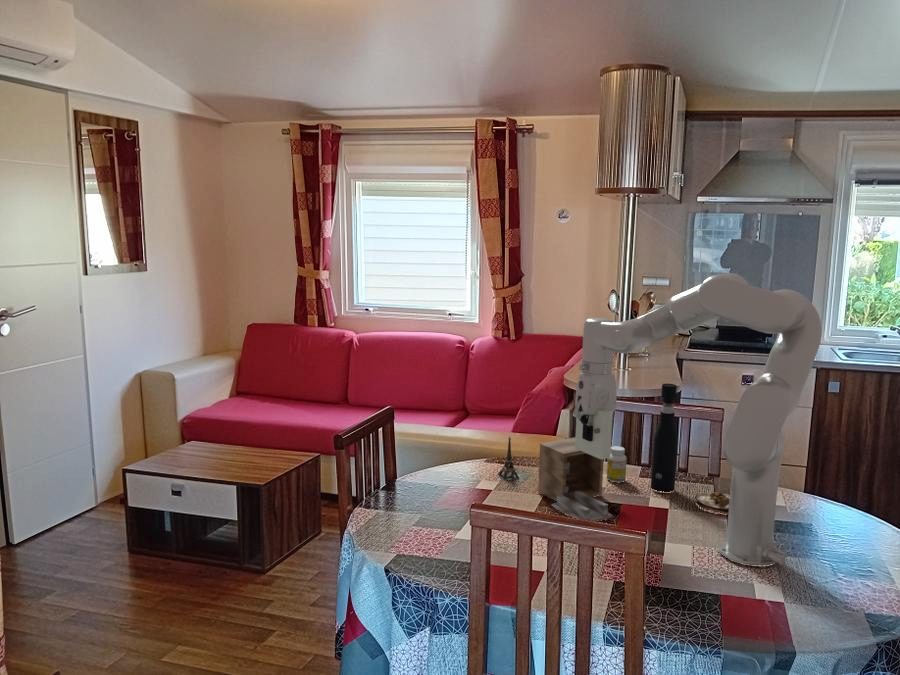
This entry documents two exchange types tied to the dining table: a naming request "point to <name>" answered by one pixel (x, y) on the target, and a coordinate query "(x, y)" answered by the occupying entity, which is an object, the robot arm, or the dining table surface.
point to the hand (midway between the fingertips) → (593, 438)
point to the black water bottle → (665, 444)
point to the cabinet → (572, 480)
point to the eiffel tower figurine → (512, 470)
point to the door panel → (596, 435)
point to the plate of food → (714, 501)
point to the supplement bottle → (616, 465)
